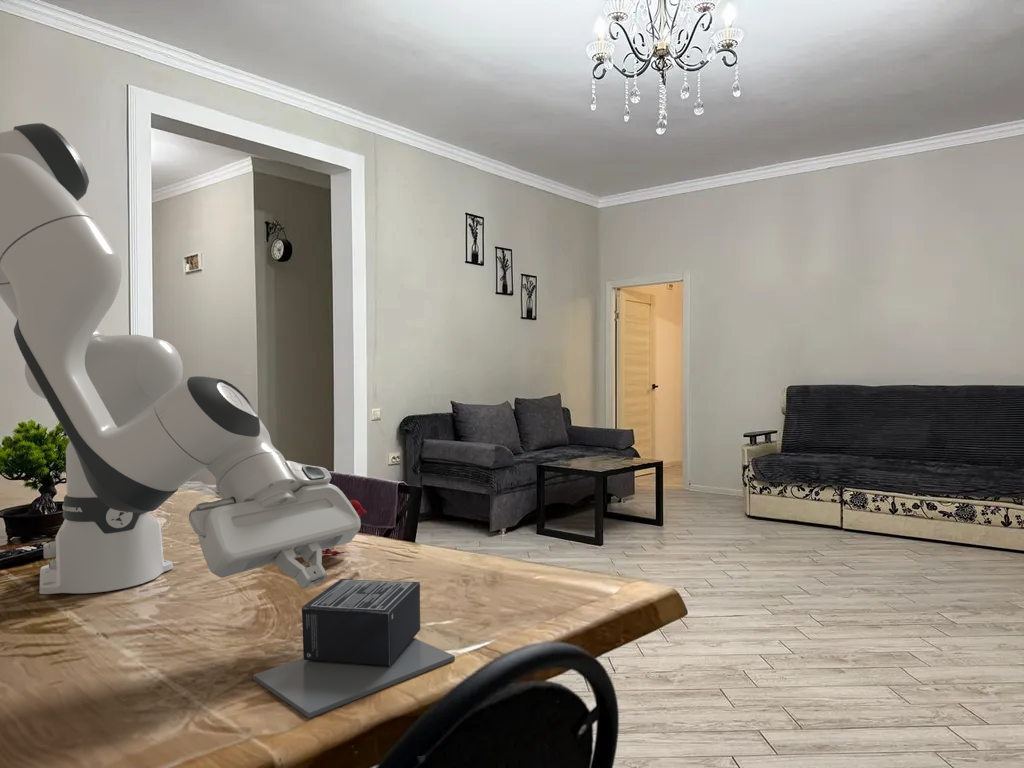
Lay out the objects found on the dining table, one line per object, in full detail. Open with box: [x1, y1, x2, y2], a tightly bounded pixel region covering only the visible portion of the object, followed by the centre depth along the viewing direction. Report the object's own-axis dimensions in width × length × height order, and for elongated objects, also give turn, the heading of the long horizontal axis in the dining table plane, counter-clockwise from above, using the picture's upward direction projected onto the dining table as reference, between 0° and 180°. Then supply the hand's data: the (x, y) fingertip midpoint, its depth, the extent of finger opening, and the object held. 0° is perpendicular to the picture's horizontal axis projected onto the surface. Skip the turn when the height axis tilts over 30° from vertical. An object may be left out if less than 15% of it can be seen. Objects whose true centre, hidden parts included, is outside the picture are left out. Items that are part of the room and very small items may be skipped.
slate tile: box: [252, 637, 456, 719], centre depth 76 cm, size 12×18×1 cm, turn 135°
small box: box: [301, 578, 421, 666], centre depth 81 cm, size 11×6×10 cm
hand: (315, 583), depth 81 cm, fingers closed
